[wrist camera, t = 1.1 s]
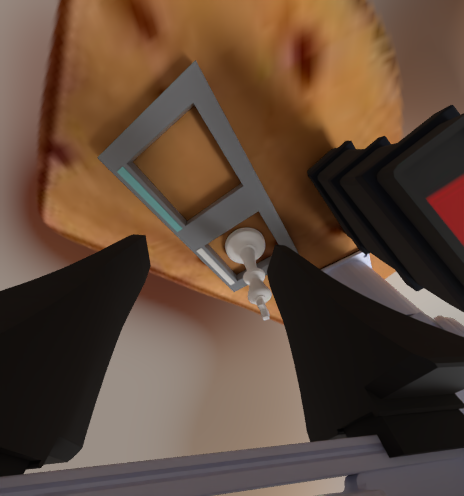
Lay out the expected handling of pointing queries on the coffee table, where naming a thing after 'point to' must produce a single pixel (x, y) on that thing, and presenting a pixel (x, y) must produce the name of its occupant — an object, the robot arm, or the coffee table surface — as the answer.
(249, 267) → the chess piece
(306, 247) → the coffee table surface
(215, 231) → the port panel
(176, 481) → the robot arm
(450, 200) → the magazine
